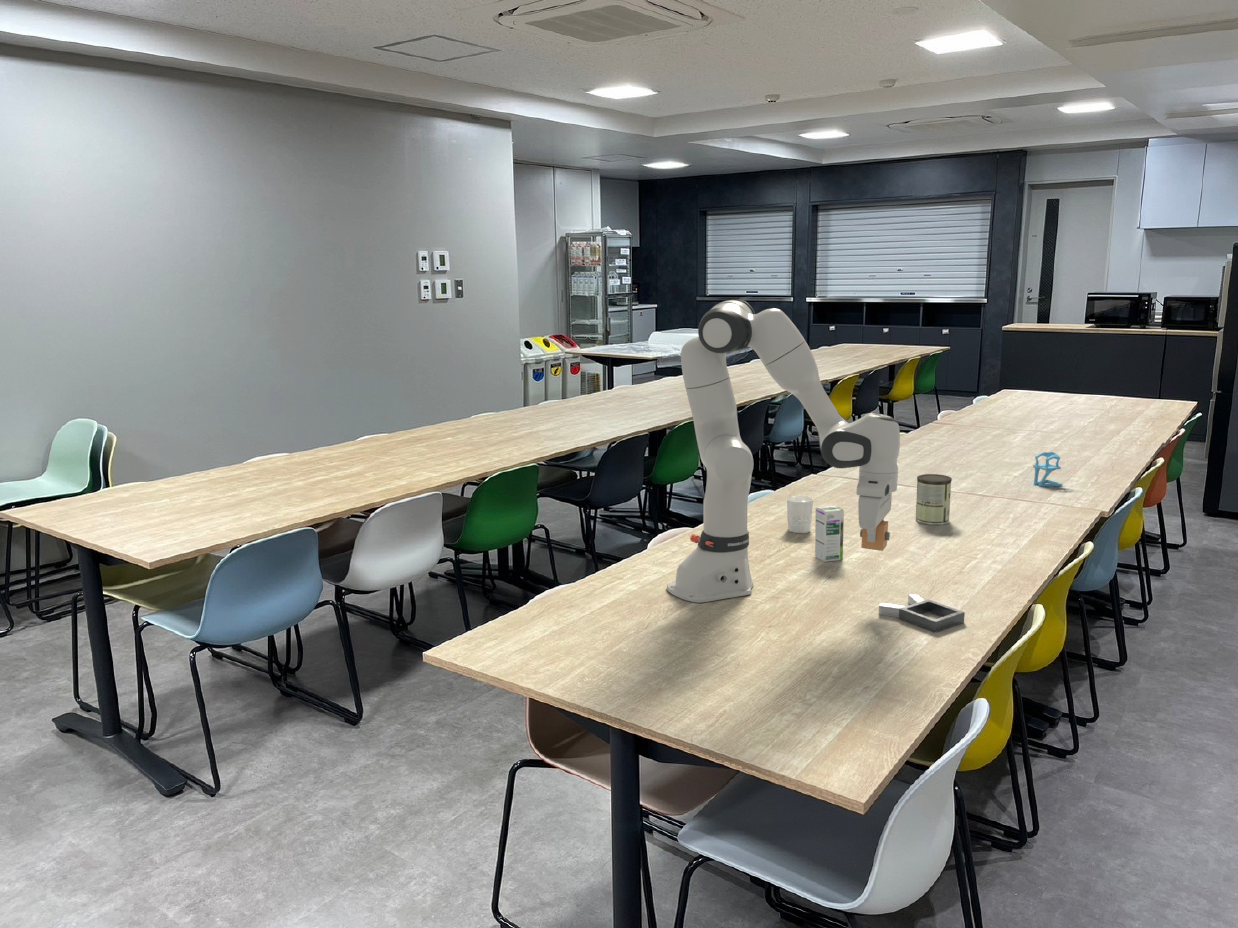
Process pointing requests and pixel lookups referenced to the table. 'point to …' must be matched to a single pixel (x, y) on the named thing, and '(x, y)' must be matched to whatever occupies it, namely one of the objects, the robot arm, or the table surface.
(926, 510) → the coffee can
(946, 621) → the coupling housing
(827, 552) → the syrup box
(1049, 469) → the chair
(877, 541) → the block
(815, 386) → the robot arm
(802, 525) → the white cup
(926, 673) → the table surface
